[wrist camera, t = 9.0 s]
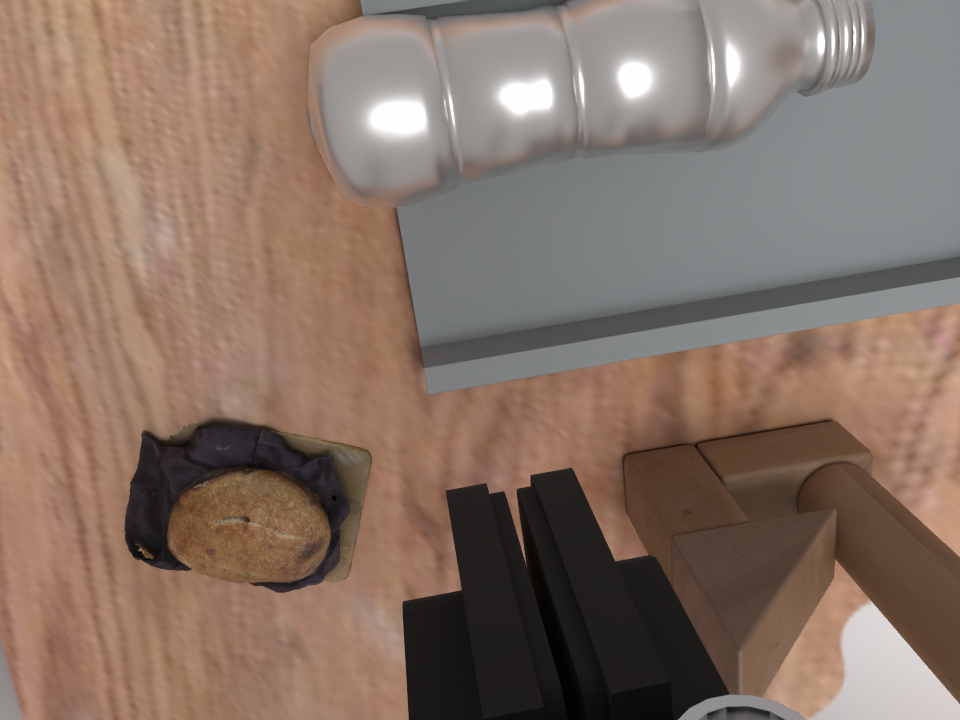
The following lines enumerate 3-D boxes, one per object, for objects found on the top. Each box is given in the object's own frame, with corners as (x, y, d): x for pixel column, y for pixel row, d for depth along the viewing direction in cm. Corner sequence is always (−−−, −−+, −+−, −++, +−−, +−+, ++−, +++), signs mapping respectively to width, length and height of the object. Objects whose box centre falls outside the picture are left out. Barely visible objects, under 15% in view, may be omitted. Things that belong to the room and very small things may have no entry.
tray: (995, 270, 40) (1041, 288, 38) (424, 367, 39) (428, 394, 36) (1033, -115, 34) (1091, -126, 32) (357, -19, 33) (356, -22, 30)
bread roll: (378, 436, 41) (380, 474, 37) (345, 585, 43) (344, 633, 40) (142, 398, 39) (120, 435, 35) (123, 557, 41) (101, 606, 38)
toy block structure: (621, 452, 42) (787, 740, 25) (835, 416, 42) (1135, 674, 26) (625, 517, 43) (785, 831, 27) (832, 481, 44) (1115, 766, 27)
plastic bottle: (299, 32, 33) (806, -55, 34) (338, 208, 35) (813, 121, 36) (278, 21, 27) (897, -86, 28) (327, 235, 29) (900, 129, 30)
